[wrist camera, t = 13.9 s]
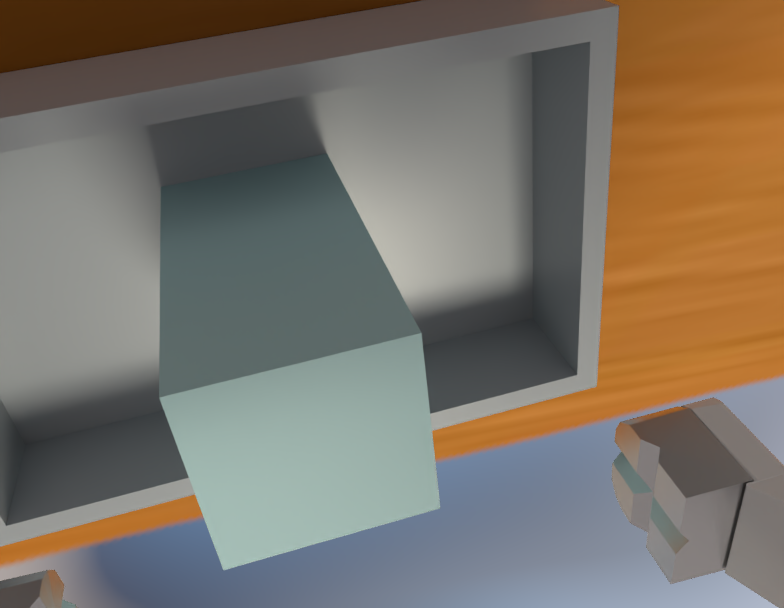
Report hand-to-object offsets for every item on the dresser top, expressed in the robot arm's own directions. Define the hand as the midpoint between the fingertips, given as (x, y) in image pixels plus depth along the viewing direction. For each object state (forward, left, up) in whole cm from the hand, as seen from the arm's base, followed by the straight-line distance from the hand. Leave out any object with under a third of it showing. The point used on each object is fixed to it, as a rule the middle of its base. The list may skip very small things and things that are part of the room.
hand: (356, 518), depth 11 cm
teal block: (0, 0, -10) cm, 10 cm away
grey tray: (0, 0, -10) cm, 10 cm away
